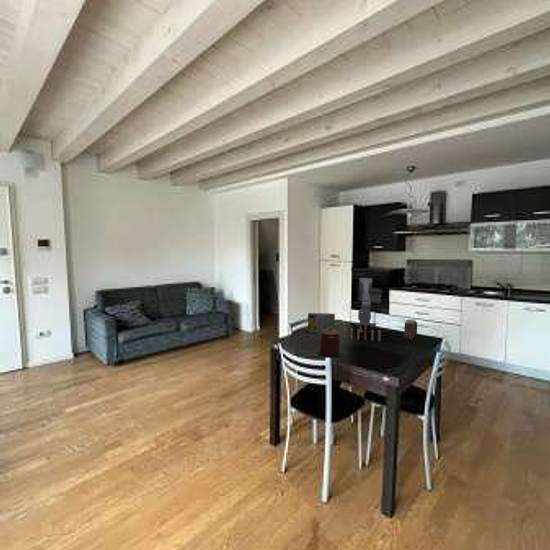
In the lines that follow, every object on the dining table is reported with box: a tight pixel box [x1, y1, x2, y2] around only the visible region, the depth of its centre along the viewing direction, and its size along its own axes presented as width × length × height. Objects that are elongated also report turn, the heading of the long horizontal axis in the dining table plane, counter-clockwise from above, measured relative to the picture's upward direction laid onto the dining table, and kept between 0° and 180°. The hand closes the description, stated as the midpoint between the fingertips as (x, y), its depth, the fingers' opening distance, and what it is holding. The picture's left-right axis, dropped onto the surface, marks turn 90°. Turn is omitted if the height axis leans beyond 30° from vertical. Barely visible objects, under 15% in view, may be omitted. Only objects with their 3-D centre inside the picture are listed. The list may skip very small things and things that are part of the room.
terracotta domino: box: [363, 329, 368, 341], centre depth 249 cm, size 5×2×7 cm, turn 167°
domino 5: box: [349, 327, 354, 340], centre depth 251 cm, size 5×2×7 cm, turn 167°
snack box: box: [307, 312, 336, 334], centre depth 269 cm, size 21×6×15 cm, turn 84°
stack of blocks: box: [403, 319, 418, 340], centre depth 260 cm, size 21×6×12 cm, turn 149°
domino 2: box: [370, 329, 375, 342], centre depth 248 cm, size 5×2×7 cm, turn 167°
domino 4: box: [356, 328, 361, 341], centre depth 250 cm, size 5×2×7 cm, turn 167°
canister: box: [319, 327, 341, 357], centre depth 216 cm, size 13×13×18 cm
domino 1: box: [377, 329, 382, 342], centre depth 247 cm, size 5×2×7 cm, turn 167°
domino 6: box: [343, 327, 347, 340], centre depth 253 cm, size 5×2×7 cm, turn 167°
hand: (365, 335), depth 249 cm, fingers closed on terracotta domino
